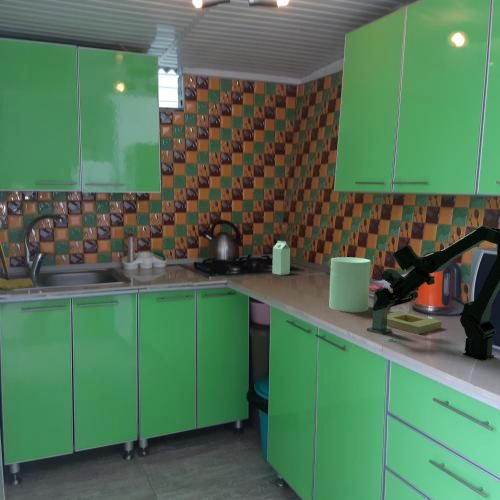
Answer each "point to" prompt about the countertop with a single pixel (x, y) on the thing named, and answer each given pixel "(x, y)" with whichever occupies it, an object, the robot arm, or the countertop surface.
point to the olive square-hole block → (412, 322)
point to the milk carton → (281, 258)
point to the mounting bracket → (387, 340)
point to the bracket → (379, 320)
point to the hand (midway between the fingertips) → (380, 308)
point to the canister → (349, 284)
